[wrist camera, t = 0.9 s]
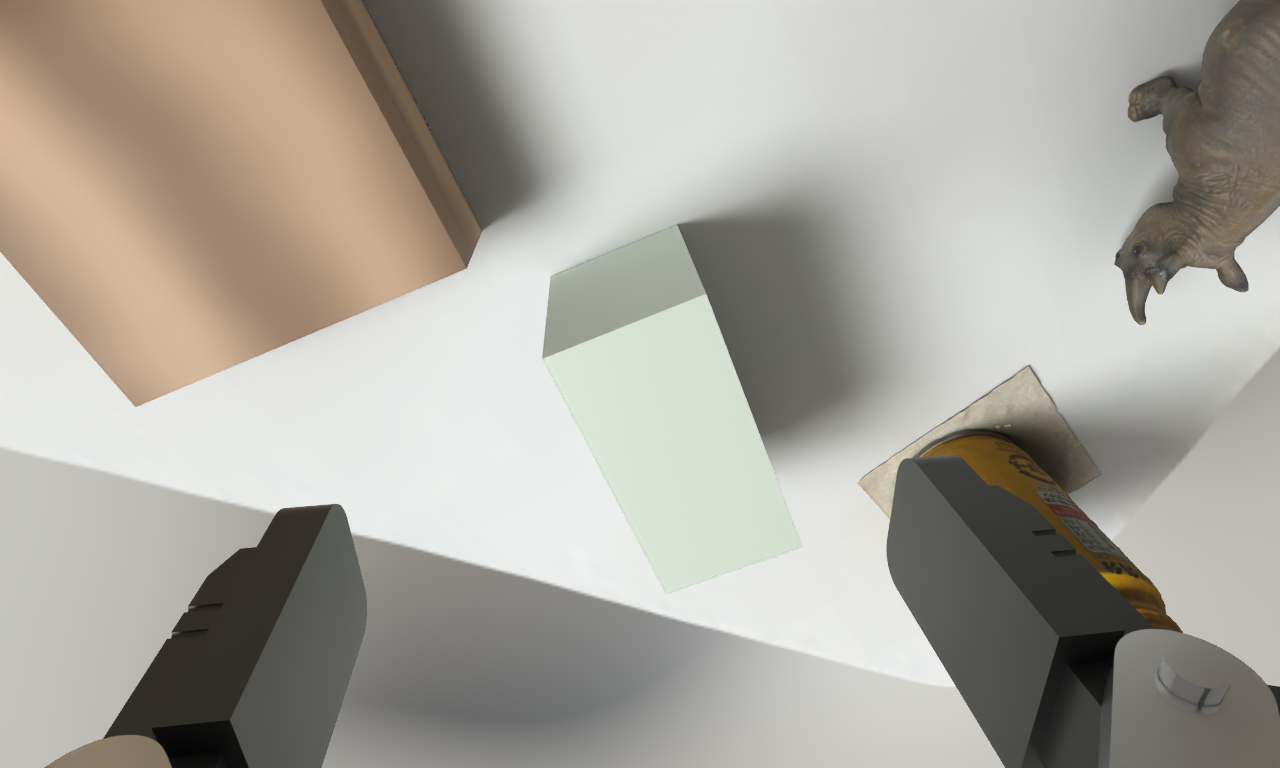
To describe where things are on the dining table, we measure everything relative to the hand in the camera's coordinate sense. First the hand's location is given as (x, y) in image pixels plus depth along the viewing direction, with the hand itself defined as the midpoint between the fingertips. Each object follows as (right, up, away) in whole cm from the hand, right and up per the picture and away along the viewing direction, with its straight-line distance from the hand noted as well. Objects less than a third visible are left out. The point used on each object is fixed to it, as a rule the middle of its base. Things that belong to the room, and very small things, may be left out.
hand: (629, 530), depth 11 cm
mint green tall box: (+1, +3, +18) cm, 19 cm away
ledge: (-13, +10, +13) cm, 21 cm away
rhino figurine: (+19, +12, +15) cm, 27 cm away
